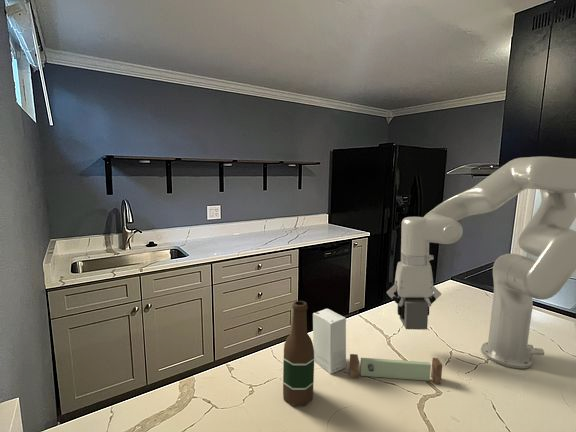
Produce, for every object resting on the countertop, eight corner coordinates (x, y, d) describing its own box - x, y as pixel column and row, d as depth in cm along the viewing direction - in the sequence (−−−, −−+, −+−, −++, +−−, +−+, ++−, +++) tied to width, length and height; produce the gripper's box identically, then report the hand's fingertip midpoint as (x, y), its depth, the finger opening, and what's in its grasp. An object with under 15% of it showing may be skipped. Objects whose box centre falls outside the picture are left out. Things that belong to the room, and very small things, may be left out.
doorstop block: (419, 318, 96) (420, 293, 95) (427, 329, 90) (428, 303, 88) (399, 318, 97) (400, 293, 96) (406, 329, 90) (406, 303, 89)
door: (427, 377, 83) (429, 362, 82) (430, 383, 81) (432, 367, 80) (360, 372, 85) (360, 357, 84) (361, 378, 82) (362, 362, 82)
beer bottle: (289, 412, 70) (291, 312, 67) (277, 390, 78) (278, 299, 74) (319, 402, 74) (322, 307, 70) (304, 382, 81) (307, 294, 77)
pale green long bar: (436, 376, 84) (437, 358, 83) (440, 384, 81) (442, 364, 80) (349, 370, 86) (350, 352, 85) (350, 377, 83) (351, 358, 82)
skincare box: (346, 368, 87) (348, 318, 85) (329, 375, 84) (332, 323, 82) (326, 353, 94) (328, 307, 92) (310, 359, 91) (312, 311, 88)
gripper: (440, 255, 93) (438, 312, 96) (381, 256, 95) (381, 311, 97) (450, 262, 86) (448, 323, 88) (387, 263, 88) (386, 322, 90)
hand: (413, 316), depth 93 cm, fingers closed on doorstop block, 6 cm apart
